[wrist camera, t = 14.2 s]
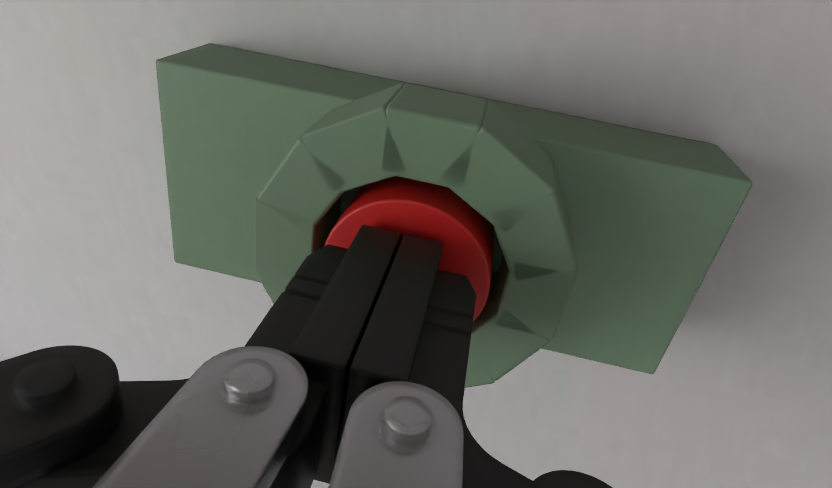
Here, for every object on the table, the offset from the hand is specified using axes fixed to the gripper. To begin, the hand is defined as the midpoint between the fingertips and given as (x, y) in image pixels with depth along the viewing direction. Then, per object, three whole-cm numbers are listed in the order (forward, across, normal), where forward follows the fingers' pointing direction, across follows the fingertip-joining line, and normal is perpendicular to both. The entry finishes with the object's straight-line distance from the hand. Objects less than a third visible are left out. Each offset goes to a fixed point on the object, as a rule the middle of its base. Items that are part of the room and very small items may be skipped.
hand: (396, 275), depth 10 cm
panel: (+4, 0, 0) cm, 4 cm away
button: (+2, 0, 0) cm, 2 cm away
